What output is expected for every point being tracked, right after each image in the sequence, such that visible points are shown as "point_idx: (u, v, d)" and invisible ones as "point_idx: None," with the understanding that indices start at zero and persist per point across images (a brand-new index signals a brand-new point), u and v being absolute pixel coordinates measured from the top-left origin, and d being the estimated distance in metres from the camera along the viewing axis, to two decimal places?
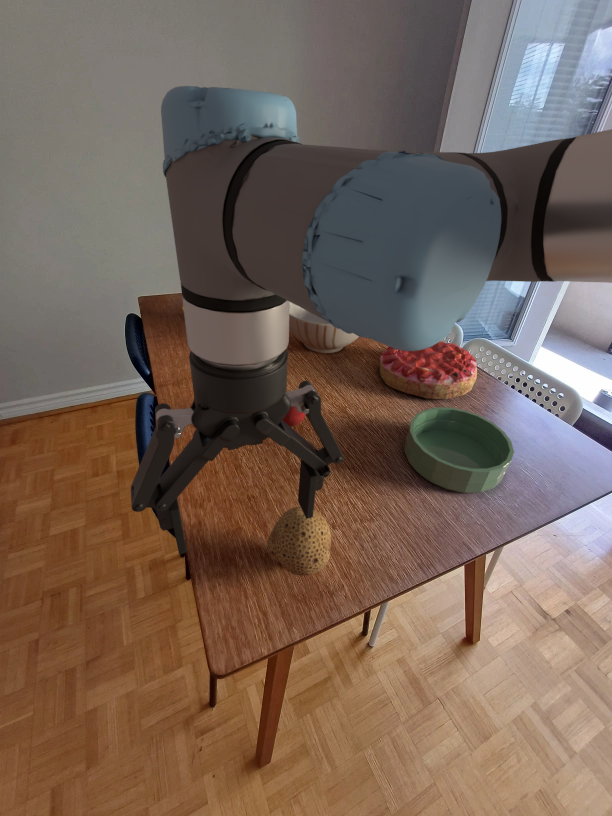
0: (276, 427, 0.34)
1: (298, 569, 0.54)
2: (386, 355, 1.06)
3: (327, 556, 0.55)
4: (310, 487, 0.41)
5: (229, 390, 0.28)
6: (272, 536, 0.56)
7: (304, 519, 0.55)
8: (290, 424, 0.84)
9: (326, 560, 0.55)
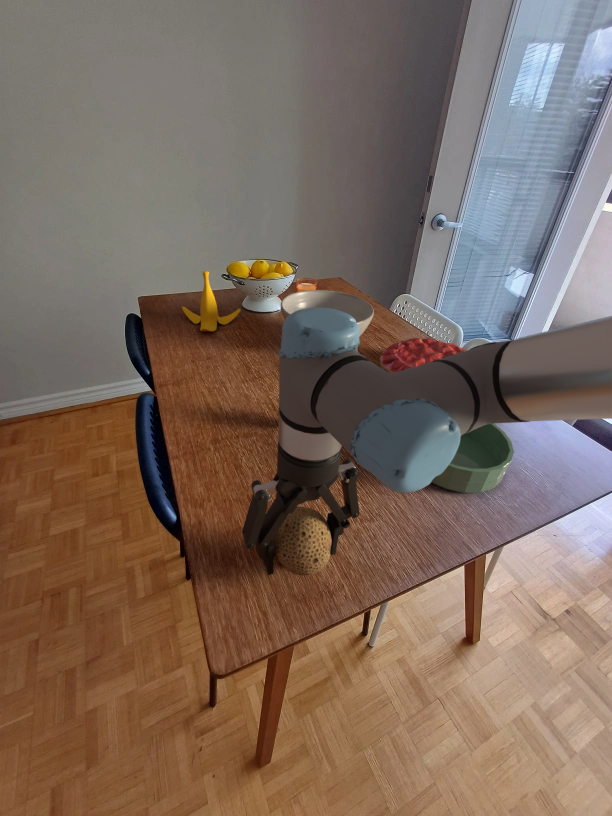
0: (328, 491, 0.50)
1: (298, 569, 0.54)
2: (386, 355, 1.06)
3: (327, 556, 0.55)
4: (335, 534, 0.57)
5: (307, 474, 0.44)
6: None
7: (304, 518, 0.55)
8: None
9: (326, 560, 0.55)
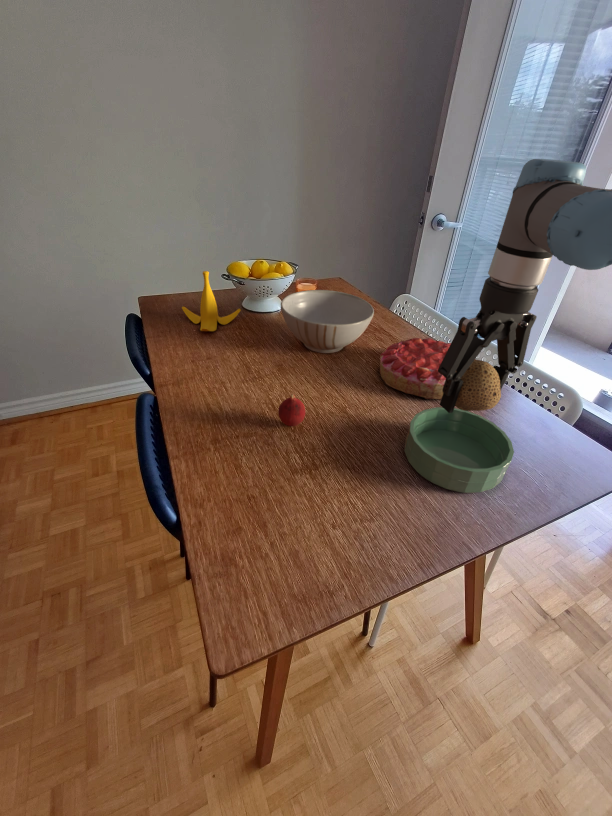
0: (514, 330, 0.63)
1: (480, 401, 0.67)
2: (386, 355, 1.06)
3: (500, 394, 0.68)
4: (502, 381, 0.70)
5: (518, 300, 0.57)
6: None
7: (483, 362, 0.68)
8: (290, 424, 0.84)
9: (500, 397, 0.68)
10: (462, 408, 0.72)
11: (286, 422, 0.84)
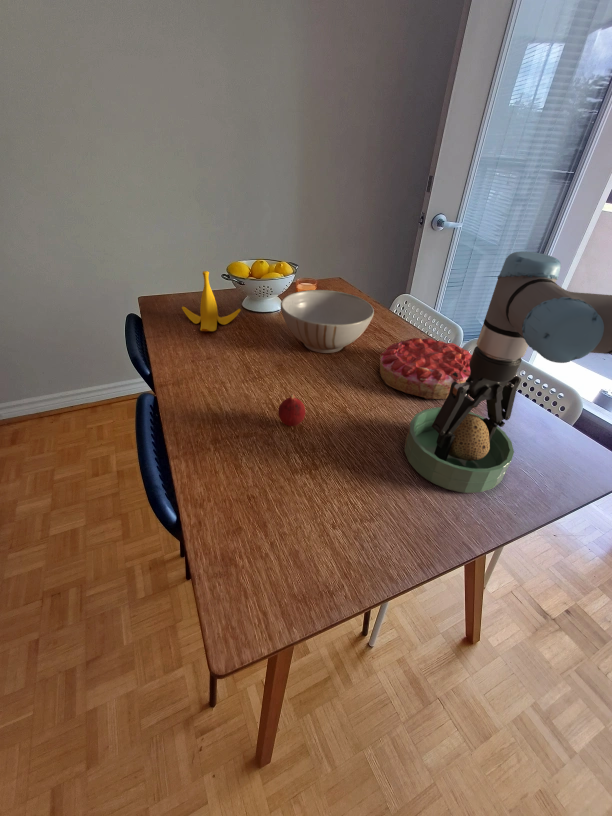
0: (501, 392, 0.70)
1: (471, 453, 0.74)
2: (386, 355, 1.06)
3: (489, 446, 0.75)
4: (491, 433, 0.77)
5: (503, 370, 0.64)
6: None
7: (473, 418, 0.74)
8: (290, 424, 0.84)
9: (489, 448, 0.75)
10: (455, 457, 0.78)
11: (286, 422, 0.84)
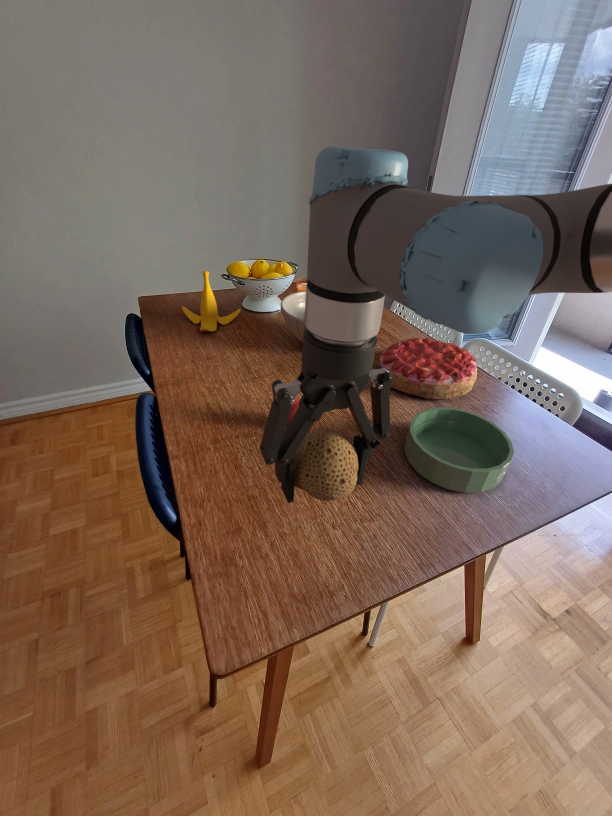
0: (359, 396, 0.44)
1: (322, 491, 0.48)
2: (386, 355, 1.06)
3: (355, 479, 0.49)
4: (363, 458, 0.51)
5: (339, 361, 0.38)
6: None
7: (329, 436, 0.48)
8: None
9: (354, 483, 0.49)
10: None
11: None
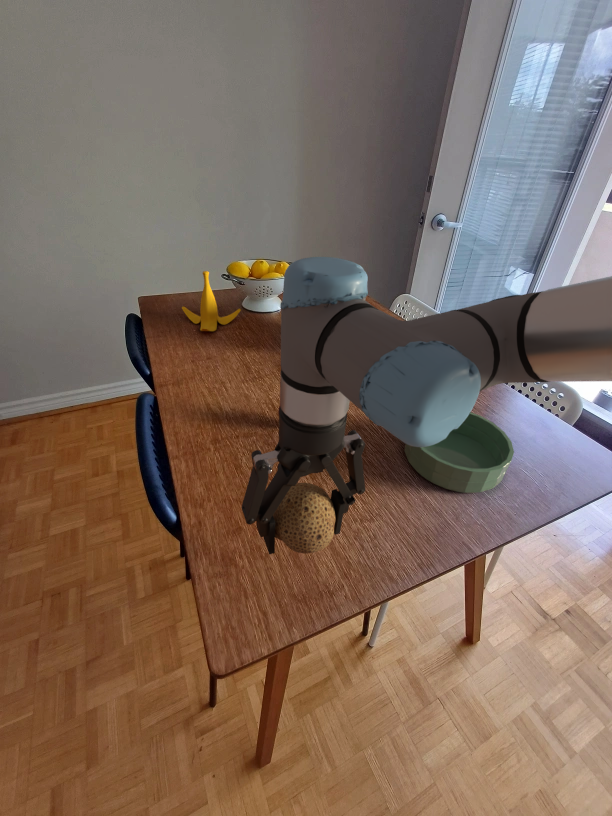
0: (332, 463, 0.47)
1: (300, 546, 0.51)
2: None
3: (331, 533, 0.52)
4: (339, 512, 0.54)
5: (310, 440, 0.41)
6: None
7: (307, 493, 0.52)
8: None
9: (330, 537, 0.52)
10: None
11: None
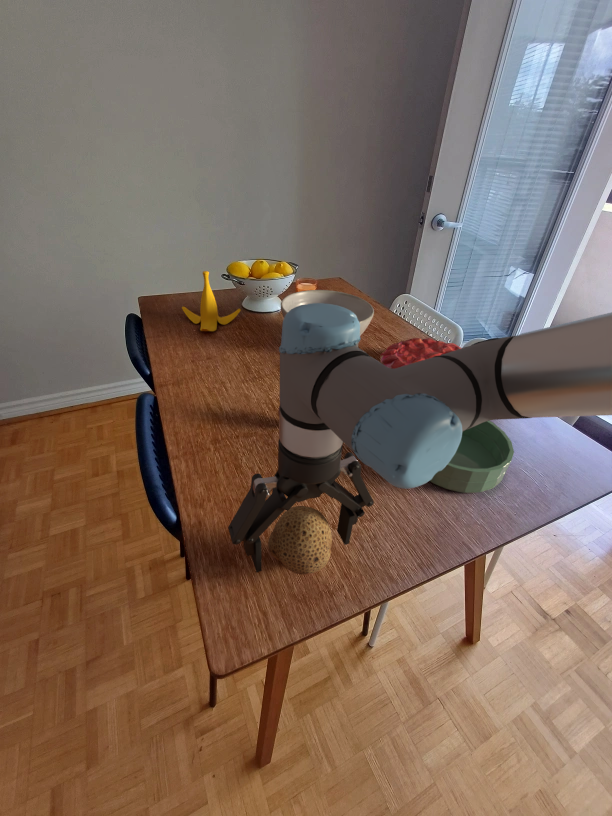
0: (331, 487, 0.50)
1: (299, 568, 0.54)
2: (386, 355, 1.06)
3: (328, 555, 0.55)
4: (349, 523, 0.57)
5: (308, 471, 0.44)
6: (273, 535, 0.57)
7: (305, 518, 0.55)
8: None
9: (327, 559, 0.55)
10: None
11: None
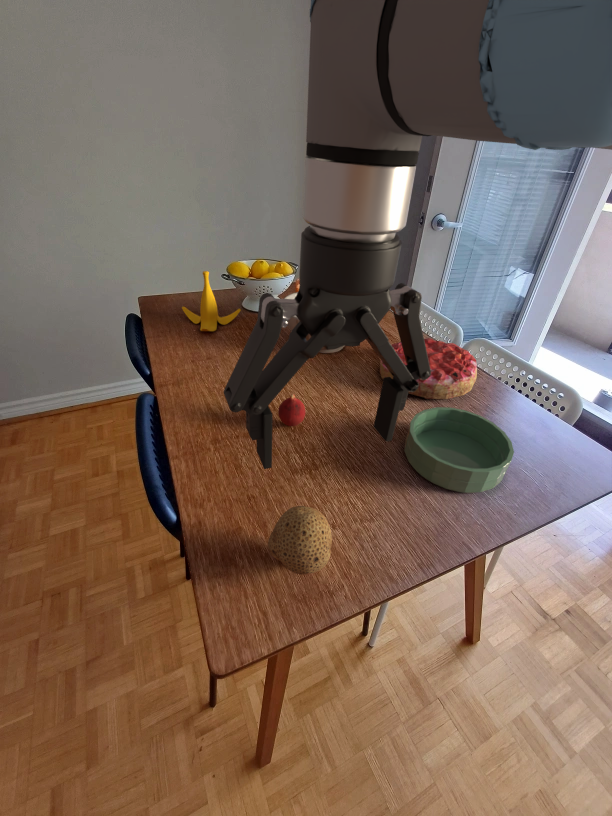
0: (377, 325, 0.33)
1: (299, 568, 0.54)
2: None
3: (328, 555, 0.55)
4: (395, 404, 0.40)
5: (351, 264, 0.27)
6: (273, 535, 0.57)
7: (305, 518, 0.55)
8: (290, 424, 0.84)
9: (327, 559, 0.55)
10: None
11: (286, 422, 0.84)
